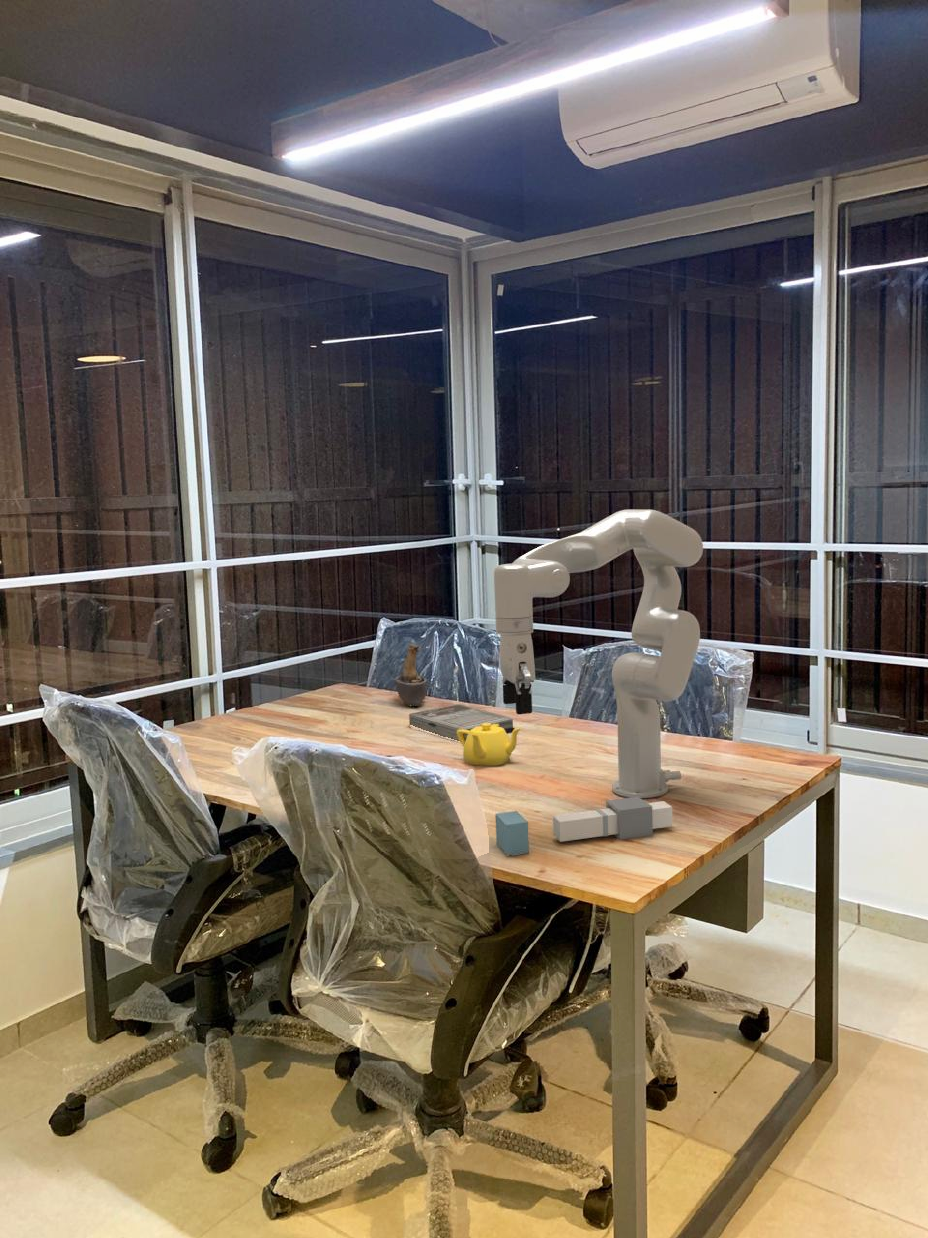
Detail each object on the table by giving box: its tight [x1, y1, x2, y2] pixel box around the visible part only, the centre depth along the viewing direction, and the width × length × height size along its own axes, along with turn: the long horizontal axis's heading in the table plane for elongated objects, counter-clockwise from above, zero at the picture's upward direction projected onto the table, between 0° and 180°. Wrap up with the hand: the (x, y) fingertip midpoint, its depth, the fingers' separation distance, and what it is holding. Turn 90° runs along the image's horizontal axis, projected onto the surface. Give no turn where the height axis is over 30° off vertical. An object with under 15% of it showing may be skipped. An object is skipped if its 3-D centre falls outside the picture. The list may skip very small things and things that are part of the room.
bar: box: [552, 800, 673, 843], centre depth 200 cm, size 24×4×4 cm, turn 105°
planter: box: [394, 643, 428, 707], centre depth 325 cm, size 15×17×20 cm
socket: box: [495, 810, 530, 856], centre depth 195 cm, size 4×7×6 cm, turn 15°
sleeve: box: [605, 797, 654, 841], centre depth 201 cm, size 7×7×6 cm
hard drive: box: [408, 703, 516, 741], centre depth 291 cm, size 18×27×4 cm
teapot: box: [457, 723, 523, 767], centre depth 256 cm, size 14×13×10 cm
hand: (517, 708), depth 204 cm, fingers open, 9 cm apart
